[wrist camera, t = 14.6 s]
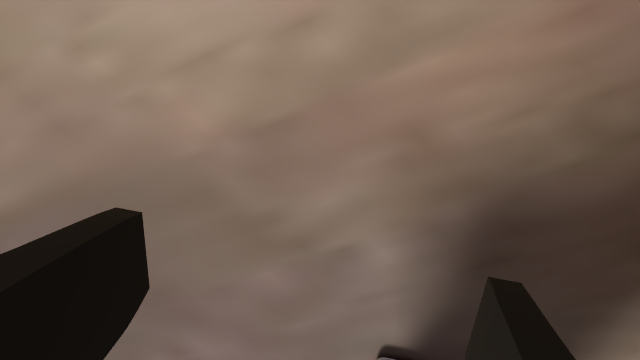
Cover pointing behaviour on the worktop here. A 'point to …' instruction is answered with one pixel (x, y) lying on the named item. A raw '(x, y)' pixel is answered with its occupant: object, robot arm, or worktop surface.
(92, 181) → the worktop surface
